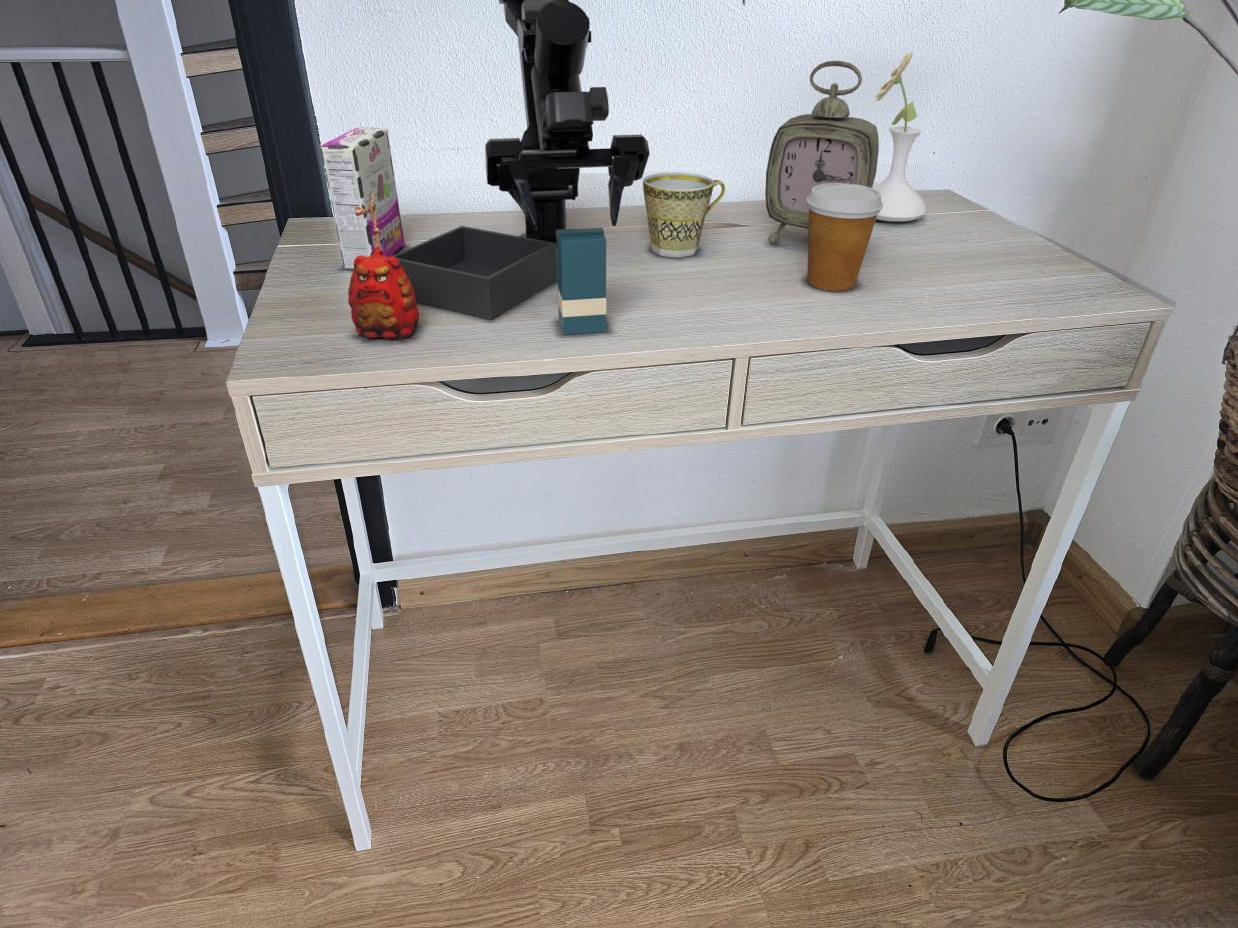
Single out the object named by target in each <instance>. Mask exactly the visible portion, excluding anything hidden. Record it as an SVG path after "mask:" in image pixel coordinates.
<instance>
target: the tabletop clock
mask: <svg viewBox="0 0 1238 928" xmlns="http://www.w3.org/2000/svg"><path fill="white" fill-rule="evenodd" d="M828 67H838V68H839V67H841V68H846V69H849V70H851V71H853V72H854V73H855V75H856V77H857V79H858V81H857V84H856V85H855V86H852V87H851V88H847V89H839V84H838V83H837V82H835V83H832V84H831V85H830V88H825V87H821V86H819V85H818V84H817V83H816V82H815V80H814V76H815V75H816V73H818V72H819V71H820V70H821V69H824V68H828ZM809 82H810V86H811V87H812V88H813V89H814V91H816V92H818V93H820V94H822V95H827V96H828V97H823V98H821V99H820V100H819V101H817V103H816V104H815V105H814V107H813V109H812V111H811V113H805V114H800V115H796V116H793V117H791V118H788V120H787V121H785V122H784V123H782V125H780V126H779V127H778V129H777V131H776V133H775V135H774V136H773V139H772V142H771V146H770V149H769V155H768V160H767V166H766V171H765V189H764V190H765V192H764V196H765V197H764V198H765V207H766V212H767V214H768V218H770V219H771V220H773V221H775V222H777V223H779V226H778V228H777V229H776V231H775V232H771V233H769V235H768V241H769V243H770V244H772V245H775V244H778V243H779V241H780V233H781V232H782V231H783V229H784V228H785V227H786V226H791V227H796V228H801V229H806V230H809V208H808V203H807V201H806V200H807V197H808V196H810V193H811V190H812V188H813V187H814V186H817V185H821V184H827V183H846V184H856V185H862V186H866V187H870V188H873V187H874V184H875V178H876V175H877V170H878V159H879V150H880V139H879V132H878V128H877V125H875V124H874V123H872V122H871V121H869V120H866V119H863V118H860V117H854V116H850V108H849V105H848V103H847V101H845V100H844V99H843V98H840V97H841V96H846V95H850V94H853V93H854V92H855V91H857V90H858V89H859V87H861V85H862V82H863V76H862V73H861V71H860V70H859V68H858V67H857V66H856V65H854V64H853V63H851V62H848V61H844V60H828V61H824V62H821V63H820V64H818V65H817V66H816V67H814V68H813V70H812V71H811V73H810V75H809ZM839 96H840V97H839Z"/></svg>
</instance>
